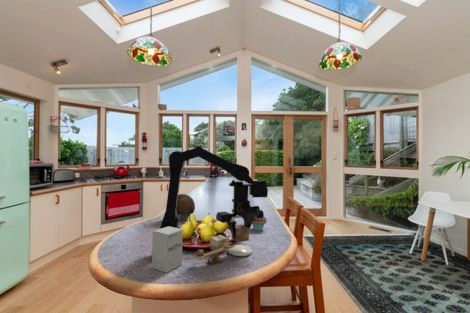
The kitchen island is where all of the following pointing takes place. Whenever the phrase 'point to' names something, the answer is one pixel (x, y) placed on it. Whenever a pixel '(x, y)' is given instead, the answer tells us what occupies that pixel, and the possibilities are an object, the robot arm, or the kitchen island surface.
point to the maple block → (217, 242)
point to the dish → (240, 250)
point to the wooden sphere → (185, 206)
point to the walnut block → (241, 233)
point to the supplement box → (167, 248)
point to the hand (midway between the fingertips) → (240, 236)
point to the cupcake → (259, 223)
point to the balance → (213, 253)
